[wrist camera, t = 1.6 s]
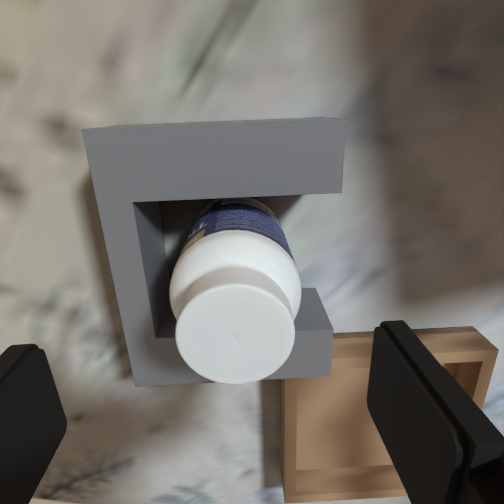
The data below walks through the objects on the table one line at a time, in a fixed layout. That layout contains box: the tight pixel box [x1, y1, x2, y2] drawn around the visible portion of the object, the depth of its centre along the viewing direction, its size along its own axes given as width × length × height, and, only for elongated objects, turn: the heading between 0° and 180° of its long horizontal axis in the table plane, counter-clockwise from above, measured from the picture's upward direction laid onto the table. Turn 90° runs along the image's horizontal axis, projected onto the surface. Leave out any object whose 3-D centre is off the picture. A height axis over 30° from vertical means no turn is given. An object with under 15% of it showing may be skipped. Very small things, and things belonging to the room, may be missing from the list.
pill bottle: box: [170, 197, 301, 385], centre depth 16 cm, size 5×5×10 cm
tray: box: [280, 326, 498, 503], centre depth 24 cm, size 13×13×2 cm
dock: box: [82, 117, 346, 387], centre depth 18 cm, size 10×13×4 cm
